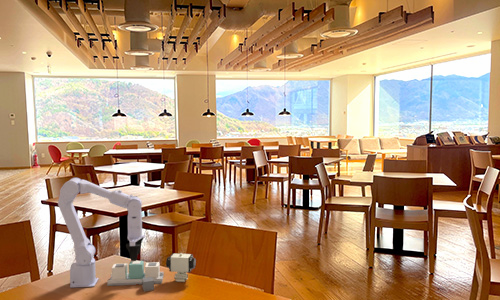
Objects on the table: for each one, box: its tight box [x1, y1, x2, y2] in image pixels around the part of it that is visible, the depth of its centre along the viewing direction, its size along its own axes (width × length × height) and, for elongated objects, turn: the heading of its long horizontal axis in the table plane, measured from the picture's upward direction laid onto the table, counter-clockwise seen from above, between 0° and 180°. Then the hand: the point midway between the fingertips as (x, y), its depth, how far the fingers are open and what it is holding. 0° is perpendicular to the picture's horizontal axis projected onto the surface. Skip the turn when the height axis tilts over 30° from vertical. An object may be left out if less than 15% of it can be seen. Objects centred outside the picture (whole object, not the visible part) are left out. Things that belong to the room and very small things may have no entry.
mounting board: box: [106, 261, 165, 287], centre depth 170 cm, size 22×10×7 cm, turn 98°
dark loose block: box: [141, 277, 155, 292], centre depth 161 cm, size 4×4×4 cm
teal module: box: [128, 260, 145, 279], centre depth 169 cm, size 6×4×7 cm
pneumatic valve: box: [165, 252, 197, 283], centre depth 169 cm, size 6×12×12 cm, turn 84°
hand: (135, 257), depth 169 cm, fingers open, 7 cm apart
